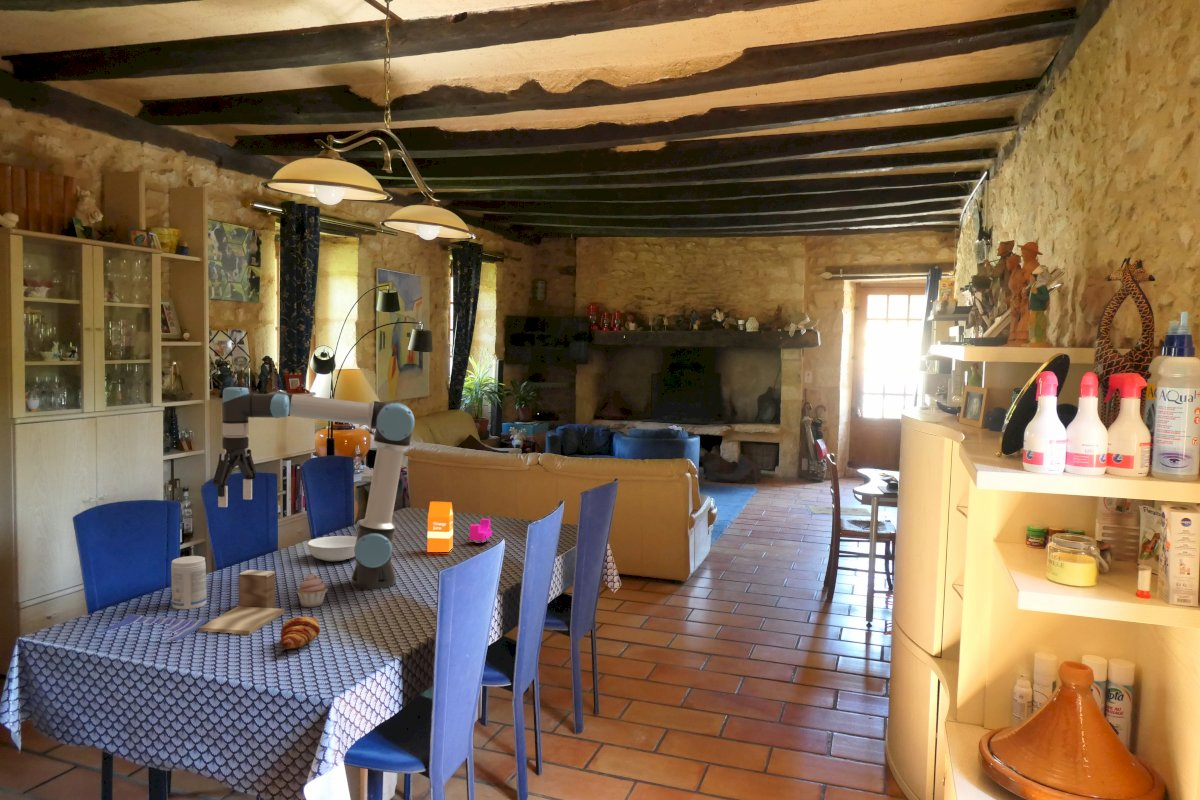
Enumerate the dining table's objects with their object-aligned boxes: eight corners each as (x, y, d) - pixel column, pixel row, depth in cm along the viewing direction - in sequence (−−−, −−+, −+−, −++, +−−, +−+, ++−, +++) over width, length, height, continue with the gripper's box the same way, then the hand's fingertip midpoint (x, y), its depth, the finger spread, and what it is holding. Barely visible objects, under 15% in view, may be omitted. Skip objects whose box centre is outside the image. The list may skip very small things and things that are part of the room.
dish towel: (131, 622, 238) (131, 612, 238) (210, 625, 236) (210, 615, 236) (91, 642, 221) (91, 632, 220) (175, 646, 219) (175, 636, 219)
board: (284, 612, 247) (284, 608, 247) (249, 634, 228) (249, 630, 227) (237, 610, 249) (237, 606, 249) (199, 631, 229) (199, 627, 229)
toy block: (483, 543, 344) (483, 526, 343) (469, 542, 345) (469, 525, 345) (495, 536, 359) (495, 519, 358) (482, 535, 360) (482, 518, 359)
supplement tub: (206, 600, 258) (206, 554, 257) (206, 608, 249) (206, 561, 249) (172, 603, 254) (171, 557, 253) (170, 612, 245) (170, 564, 244)
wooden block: (274, 606, 253) (274, 571, 253) (266, 611, 248) (266, 575, 248) (247, 604, 254) (247, 569, 254) (238, 609, 249) (238, 574, 249)
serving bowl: (372, 553, 323) (372, 536, 322) (351, 567, 302) (351, 548, 301) (322, 551, 325) (322, 534, 324) (297, 564, 304) (297, 546, 303)
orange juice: (449, 553, 326) (449, 503, 324) (427, 552, 326) (427, 503, 325) (452, 548, 333) (453, 500, 332) (431, 548, 334) (432, 499, 332)
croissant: (306, 639, 233) (291, 615, 233) (336, 621, 233) (321, 597, 233) (276, 665, 212) (260, 639, 212) (309, 646, 212) (293, 620, 212)
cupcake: (318, 610, 250) (318, 578, 250) (290, 608, 252) (290, 576, 252) (333, 601, 260) (333, 570, 259) (306, 599, 261) (306, 568, 261)
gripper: (246, 432, 269) (246, 495, 270) (200, 439, 244) (200, 509, 245) (267, 433, 268) (267, 496, 269) (223, 440, 243) (223, 510, 245)
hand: (235, 503), depth 257 cm, fingers open, 13 cm apart
